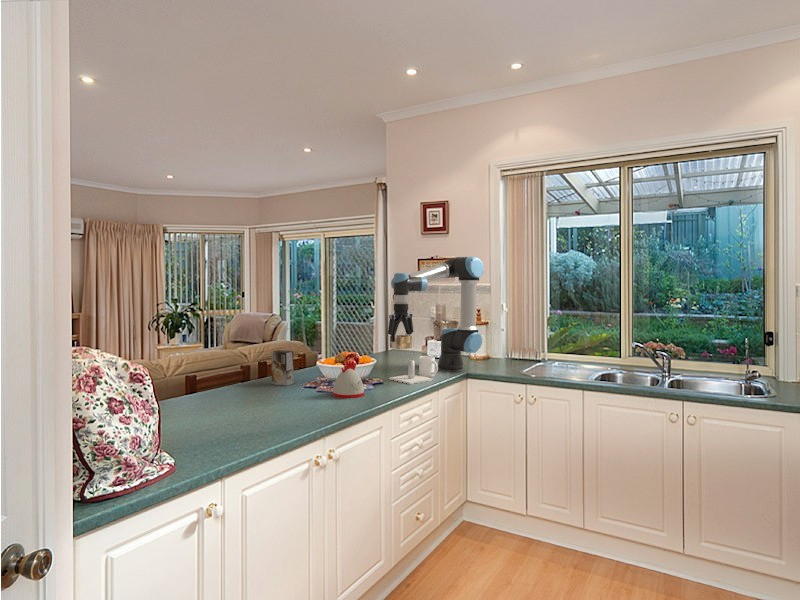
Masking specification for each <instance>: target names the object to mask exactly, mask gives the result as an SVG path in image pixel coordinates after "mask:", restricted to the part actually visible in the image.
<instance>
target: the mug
mask: <svg viewBox="0 0 800 600" xmlns="http://www.w3.org/2000/svg"><path fill="white" fill-rule="evenodd" d="M435 358H436V357H435V356H432V355H421V356H419V358H418V359H419V361H418V376H423V377H428V378H433V376H434V377H435V375H436V374H437V373H438V370H439V367H438V362H437V361H436V359H435Z"/></svg>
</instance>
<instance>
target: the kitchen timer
mask: <svg viewBox="0 0 800 600" xmlns="http://www.w3.org/2000/svg"><path fill="white" fill-rule="evenodd" d="M356 367H357V363H355V362H354V361H352V362H351V361H346V363H345V364H343V367H340V368H341V372H340V373H339V374H338V376H337V377H336V378H335V380H334V381H335V382H334V384H333V387H332V397H334V396H335V397H334V398H337V397H339V398H338V399H344V398H352V399H358V397H359V398H362V397H364V396H365V390H364V389H365V388H364V384H363V380H362V378H361V377H360V376H359V374H358V373H357V372H356Z"/></svg>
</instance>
